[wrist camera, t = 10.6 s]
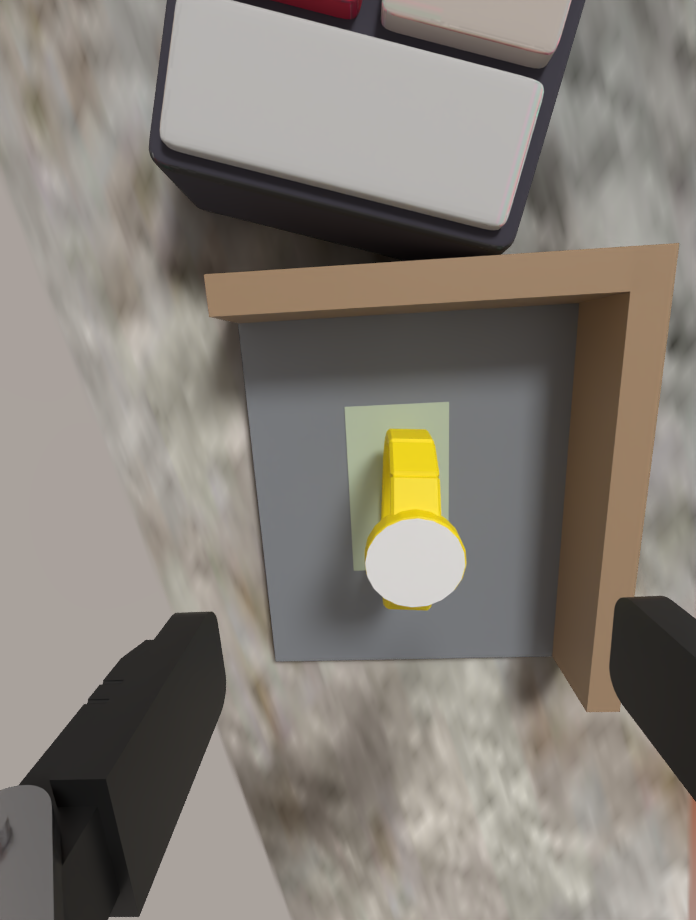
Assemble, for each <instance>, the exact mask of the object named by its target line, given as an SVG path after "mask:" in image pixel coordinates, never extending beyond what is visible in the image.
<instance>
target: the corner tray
mask: <svg viewBox="0 0 696 920" xmlns="http://www.w3.org/2000/svg"><path fill="white" fill-rule="evenodd" d="M678 250H679V243H674V244H658V245H643V246H628V247H613V248H597V249H582V250H567V251H552V252H536V253H521V254H506V255H491V256H475V257H460V258H445V259H430V260H415V261H399V262H384V263H369V264H354V265H338V266H323V267H308V268H293V269H277V270H262V271H247V272H232V273H216V274H204V280H205V287H206V295H207V303H208V311H209V317H212V318H217V319H221V320H225V321H230V322H234V323H238V328H239V337H240V346H241V355H242V364H243V373H244V382H245V391H246V400H247V409H248V417H249V426H250V435H251V444H252V453H253V462H254V471H255V480H256V489H257V498H258V507H259V516H260V524H261V533H262V542H263V551H264V560H265V569H266V578H267V587H268V596H269V605H270V614H271V623H272V631H273V640H274V649H275V658H276V661H325V660H378V659H432V658H485V657H538V656H552V657H553V658H554V660H555V662H556V663H557V665H558V666H559V668H560V670H561V671H562V673H563V674H564V676H565V678H566V679H567V681H568V683H569V684H570V686H571V687H572V689H573V691H574V692H575V694H576V696H577V697H578V699H579V700H580V702H581V704H582V705H583V707H584V709H585V710H586V712H620V705H621V702H620V700H619V699H618V697H617V695H616V693H615V691H614V688H613V685H612V682H611V678H610V672H609V661H610V650H611V639H612V628H613V617H614V608H615V604H616V602H617V600H618V599H620V598H622V597H634V595H635V587H636V579H637V571H638V564H639V556H640V548H641V540H642V532H643V524H644V516H645V509H646V501H647V493H648V485H649V477H650V469H651V461H652V454H653V446H654V438H655V430H656V422H657V414H658V407H659V399H660V391H661V383H662V375H663V367H664V359H665V352H666V344H667V336H668V328H669V320H670V312H671V304H672V297H673V289H674V281H675V273H676V265H677V257H678ZM389 429H426V430H427V431H428V432H429V434H430V435H431V437H432V439H433V441H434V444H435V448H436V454H437V461H438V467H439V479H440V492H441V516H443V517H444V518H446V519H447V520H448V521H449V522H450V523H451V524H452V525H453V526H454V527H455V529H456V530H457V532H458V535H459V537H460V539H461V541H462V543H463V545H464V547H465V550H466V562H467V564H466V568H465V572H464V575H463V578H462V580H461V581H460V583H459V584H458V586H457V587H456V589H455V590H454V591H453V592H452V593H450V594H449V595H448V596H446V597H445V598H444V599H443V600H441V601H438V602H436V603H433V604H432V606H431V608H430V609H429V610H398V609H387V608H386V607H385V606H384V605H383V597H382V596H381V595H380V594H379V593H378V592H377V591H376V590H375V589H374V588H373V586H372V584H371V583H370V581H369V579H368V577H367V574H366V568H365V547H366V542H367V538H368V536H369V535H370V533H371V531H372V530H373V528H374V526H375V525H376V524H377V523H379V522H380V520H381V503H382V473H383V452H384V440H385V436H386V432H387V431H388V430H389Z"/></svg>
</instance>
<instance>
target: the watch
mask: <svg viewBox="0 0 696 920" xmlns="http://www.w3.org/2000/svg"><path fill="white" fill-rule="evenodd" d="M466 564H467V562H466V550H465V547H464V545H463V543H462V541H461V539H460V537H459V535H458V532H457V530H456V529H455V527H454V526H453V525H452V524H451V523H450V522H449V521H448V520H447V519H446V518H444V517H443V516H441V492H440V479H439V467H438V461H437V454H436V448H435V444H434V441H433V439H432V437H431V435H430V434H429V432H428V431H427V430H426V429H389V430H388V431H387V432H386V436H385V440H384V452H383V473H382V503H381V520H380V522H379V523H377V524H376V525H375V526H374V528H373V530H372V531H371V533H370V535H369V536H368V538H367V542H366V547H365V568H366V574H367V577H368V579H369V581H370V583H371V584H372V586H373V588H374V589H375V590H376V591H377V592H378V593H379V594H380V595H381V596H382V597H383V605H384V606H385V607H386V608H387V609H398V610H429V609H430V608H431V606H432V604H433V603H436V602H438V601H441V600H443V599H444V598H445V597H446V596H448V595H449V594H450V593H452V592H453V591H454V590H455V589H456V587H457V586H458V584H459V583H460V581H461V580H462V578H463V575H464V572H465V568H466Z"/></svg>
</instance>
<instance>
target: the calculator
mask: <svg viewBox="0 0 696 920" xmlns="http://www.w3.org/2000/svg"><path fill="white" fill-rule="evenodd" d="M584 3H585V0H167V4H166V12H165V20H164V28H163V36H162V44H161V52H160V60H159V68H158V76H157V84H156V92H155V100H154V108H153V116H152V124H151V131H150V140H149V152H150V156H151V158H152V160H153V161H154V162H155V163H156V165H157V166H158V167H159V168H160V169H161V170H162V171H163V172H164V173H165V174H166V175H167V176H168V177H169V178H170V179H171V180H172V181H173V182H174V183H175V184H176V186H177V187H178V188H179V189H180V190H181V191H182V192H183V193H184V194H185V195H186V196H187V197H188V198H189V199H190V200H191V201H192V202H193V203H194V204H195V205H196V206H197V207H198V208H200V209H203V210H206V211H210V212H214V213H218V214H222V215H226V216H230V217H234V218H238V219H242V220H246V221H250V222H254V223H258V224H262V225H265V226H269V227H273V228H277V229H281V230H285V231H289V232H293V233H297V234H301V235H305V236H309V237H313V238H317V239H321V240H325V241H329V242H333V243H337V244H341V245H345V246H349V247H353V248H357V249H361V250H365V251H369V252H373V253H377V254H381V255H385V256H389V257H393V258H397V259H401V260H405V261H415V260H430V259H445V258H460V257H475V256H491V255H501V254H502V253H503V252H504V251H506V250H507V249H508V248H509V247H510V246H511V245H512V243H513V242H514V239H515V237H516V234H517V231H518V227H519V224H520V221H521V217H522V214H523V210H524V207H525V204H526V200H527V197H528V193H529V190H530V187H531V183H532V180H533V176H534V173H535V170H536V166H537V163H538V160H539V156H540V153H541V149H542V146H543V143H544V139H545V136H546V132H547V129H548V126H549V122H550V119H551V115H552V112H553V109H554V105H555V102H556V98H557V95H558V92H559V88H560V85H561V81H562V78H563V75H564V71H565V68H566V64H567V61H568V58H569V54H570V51H571V47H572V44H573V41H574V37H575V34H576V30H577V27H578V24H579V20H580V17H581V13H582V10H583V7H584Z"/></svg>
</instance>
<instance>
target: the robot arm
mask: <svg viewBox="0 0 696 920" xmlns="http://www.w3.org/2000/svg"><path fill="white" fill-rule="evenodd" d="M609 672H610V678H611V682H612V685H613V688H614V691H615V693H616V695H617V697H618V699H619V700H620V702H621V703H622V705H623V706H624V707H625V709H626V710H627V711H628V713H629V714H630V715H631V717H632V718H633V719H634V721H635V722H636V723H637V725H638V726H639V727H640V729H641V730H642V731H643V733H644V734H645V735H646V736H647V738H648V739H649V740H650V742H651V743H652V744H653V746H654V747H655V748H656V750H657V751H658V752H659V754H660V755H661V756H662V758H663V759H664V760H665V762H666V763H667V764H668V766H669V767H670V768H671V770H672V771H673V772H674V774H675V775H676V776H677V777H678V779H679V780H680V781H681V783H682V784H683V785H684V787H685V788H686V789H687V791H688V792H689V793H690V795H691V796H692V797H693V799H694V800H695V801H696V619H695V618H694V617H693V616H691V615H690V614H689V613H687V612H686V611H685V610H684V609H682V608H681V607H680V606H678V605H677V604H676V603H674V602H673V601H672V600H670V599H669V598H667V597H665V596H646V597H622V598H620V599H618V600H617V602H616V604H615V608H614V617H613V628H612V639H611V650H610V661H609ZM225 692H226V675H225V668H224V661H223V655H222V648H221V641H220V635H219V628H218V622H217V618H216V615H215V614H214V613H213V612H188V613H175V614H173V615H172V616H171V618H170V619H169V620H168V622H167V623H166V624H165V625H164V627H163V628H162V630H161V631H160V632H159V634H158V635H157V636H156V638H155V639H154V640H145V641H144V642H143V643H141V644H140V645H139V646H137V647H136V648H134V649H133V650H132V651H130V652H129V653H128V654H127V655H125V656H124V657H123V658H121V659H120V661H119V662H118V663H117V664H116V666H115V667H114V668H113V669H112V670H111V672H110V673H109V674H108V675H107V676H106V678H105V679H104V680H103V685H99V686H98V688H97V689H96V690H95V691H94V693H93V694H92V695H91V696H90V698H89V699H88V703H87V704H84V705H83V706H82V707H81V709H80V710H79V711H78V712H77V714H76V715H75V716H74V717H73V719H72V720H71V721H70V722H69V724H68V725H67V726H66V727H65V729H64V730H63V731H62V732H61V733H60V735H59V736H58V737H57V738H56V740H55V741H54V742H53V743H52V745H51V746H50V747H49V748H48V750H47V751H46V752H45V753H44V754H43V756H42V757H41V758H40V759H39V761H38V762H37V763H36V764H35V766H34V767H33V768H32V769H31V770H30V772H29V773H28V774H27V775H26V777H25V778H24V779H23V780H22V782H21V783H20V784H19V785H18V786H14V787H9V788H6V789H3V790H0V920H108V918H109V917H139V916H140V913H141V911H142V908H143V906H144V903H145V901H146V898H147V896H148V893H149V891H150V888H151V886H152V883H153V881H154V878H155V876H156V873H157V871H158V868H159V866H160V863H161V861H162V858H163V856H164V853H165V851H166V848H167V846H168V843H169V841H170V838H171V836H172V833H173V831H174V828H175V826H176V823H177V821H178V818H179V816H180V813H181V811H182V808H183V806H184V804H185V801H186V799H187V796H188V794H189V791H190V788H191V786H192V784H193V781H194V779H195V776H196V773H197V771H198V768H199V766H200V764H201V761H202V758H203V756H204V754H205V751H206V748H207V746H208V744H209V741H210V738H211V736H212V734H213V731H214V729H215V726H216V724H217V721H218V719H219V716H220V714H221V711H222V708H223V704H224V699H225Z"/></svg>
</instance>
